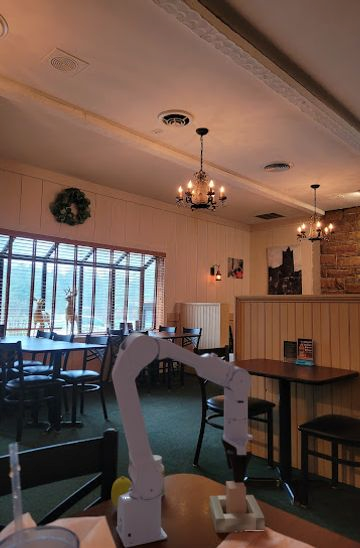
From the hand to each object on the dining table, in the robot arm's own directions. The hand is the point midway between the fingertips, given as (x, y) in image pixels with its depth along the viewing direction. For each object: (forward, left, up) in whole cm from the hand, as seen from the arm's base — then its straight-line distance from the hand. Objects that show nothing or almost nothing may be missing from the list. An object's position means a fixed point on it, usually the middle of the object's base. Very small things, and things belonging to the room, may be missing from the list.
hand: (235, 475), depth 98 cm
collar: (0, 0, -10) cm, 10 cm away
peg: (0, 0, -10) cm, 10 cm away
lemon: (-24, +14, -10) cm, 30 cm away
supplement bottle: (-14, +19, -10) cm, 26 cm away
